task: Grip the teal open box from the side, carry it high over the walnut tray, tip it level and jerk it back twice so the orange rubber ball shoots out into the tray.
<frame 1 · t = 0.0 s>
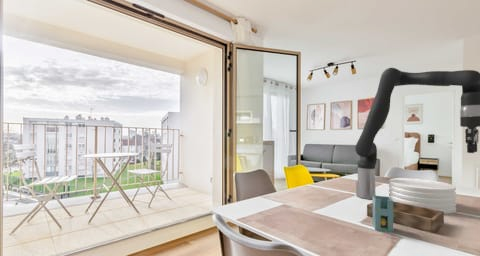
hand: (472, 152, 105), 29 cm above the table, tool pointing down, fingers open, 8 cm apart
ball: (382, 222, 93), point 2 cm above the table, touching teal open box
teal open box: (382, 228, 93), on the table, touching ball
plate stack: (420, 205, 125), on the table
tray: (403, 219, 103), on the table
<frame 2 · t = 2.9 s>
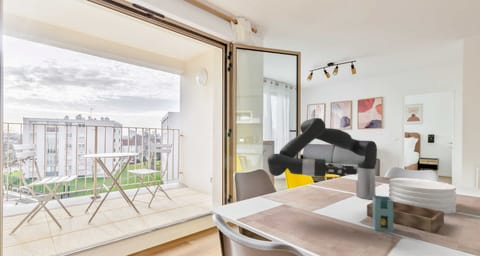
hand: (355, 170, 97), 22 cm above the table, tool horizontal, fingers open, 8 cm apart
nothing on the table moved.
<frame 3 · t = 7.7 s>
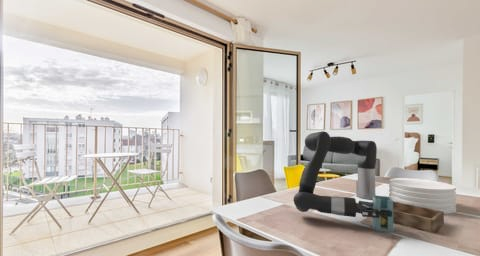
hand: (389, 211, 92), 7 cm above the table, tool horizontal, fingers closed on teal open box, 6 cm apart
ball: (382, 221, 94), point 2 cm above the table, tilted 31°, touching teal open box
teal open box: (382, 228, 93), on the table, touching ball, gripper
everything else where it was.
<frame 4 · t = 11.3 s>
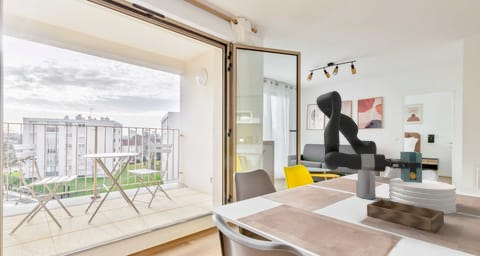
hand: (417, 164, 99), 25 cm above the table, tool horizontal, fingers closed on teal open box, 6 cm apart
ball: (412, 175, 98), point 20 cm above the table, tilted 61°, touching teal open box
teal open box: (410, 180, 99), point 18 cm above the table, touching ball, gripper
everything else where it was.
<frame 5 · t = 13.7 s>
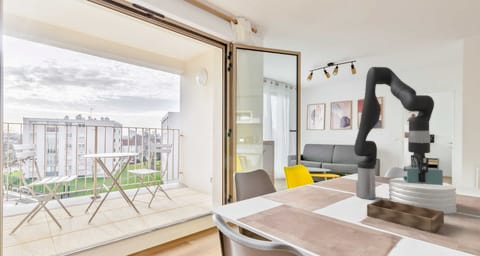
hand: (419, 180, 101), 17 cm above the table, tool pointing down, fingers closed on teal open box, 6 cm apart
ball: (432, 178, 99), point 19 cm above the table, tilted 100°, touching teal open box
teal open box: (439, 176, 99), point 20 cm above the table, tilted 90°, touching ball, gripper
everything else where it was.
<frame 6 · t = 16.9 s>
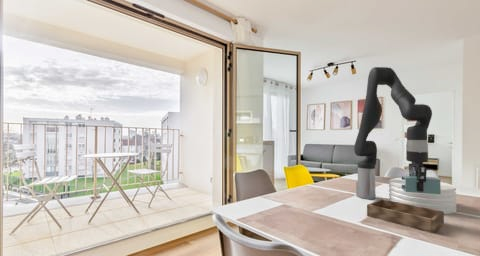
hand: (417, 189, 102), 13 cm above the table, tool pointing down, fingers closed on teal open box, 6 cm apart
ball: (413, 186, 102), point 15 cm above the table, tilted 31°, touching teal open box
teal open box: (437, 185, 99), point 16 cm above the table, tilted 90°, touching ball, gripper
everything else where it was.
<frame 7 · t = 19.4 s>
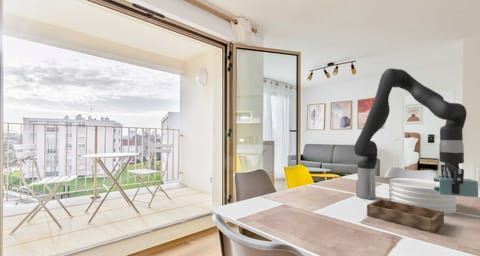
hand: (451, 191, 97), 14 cm above the table, tool pointing down, fingers closed on teal open box, 6 cm apart
ball: (381, 212, 105), point 2 cm above the table, tilted 101°, touching tray
teal open box: (473, 187, 95), point 16 cm above the table, tilted 90°, touching gripper
everything else where it was.
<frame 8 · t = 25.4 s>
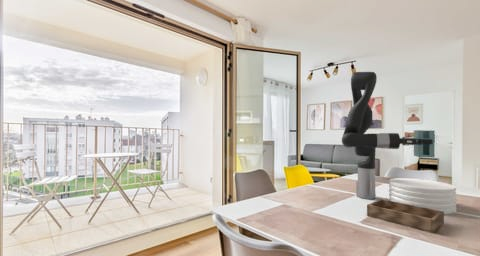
hand: (429, 141, 108), 34 cm above the table, tool horizontal, fingers closed on teal open box, 6 cm apart
ball: (383, 212, 106), point 2 cm above the table, tilted 124°, touching tray
teal open box: (423, 156, 109), point 27 cm above the table, touching gripper
everything else where it was.
at the end: ball inside the target area on the tray (7.8 cm from its centre), point 2.3 cm above the tray's base; ball touching tray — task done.
